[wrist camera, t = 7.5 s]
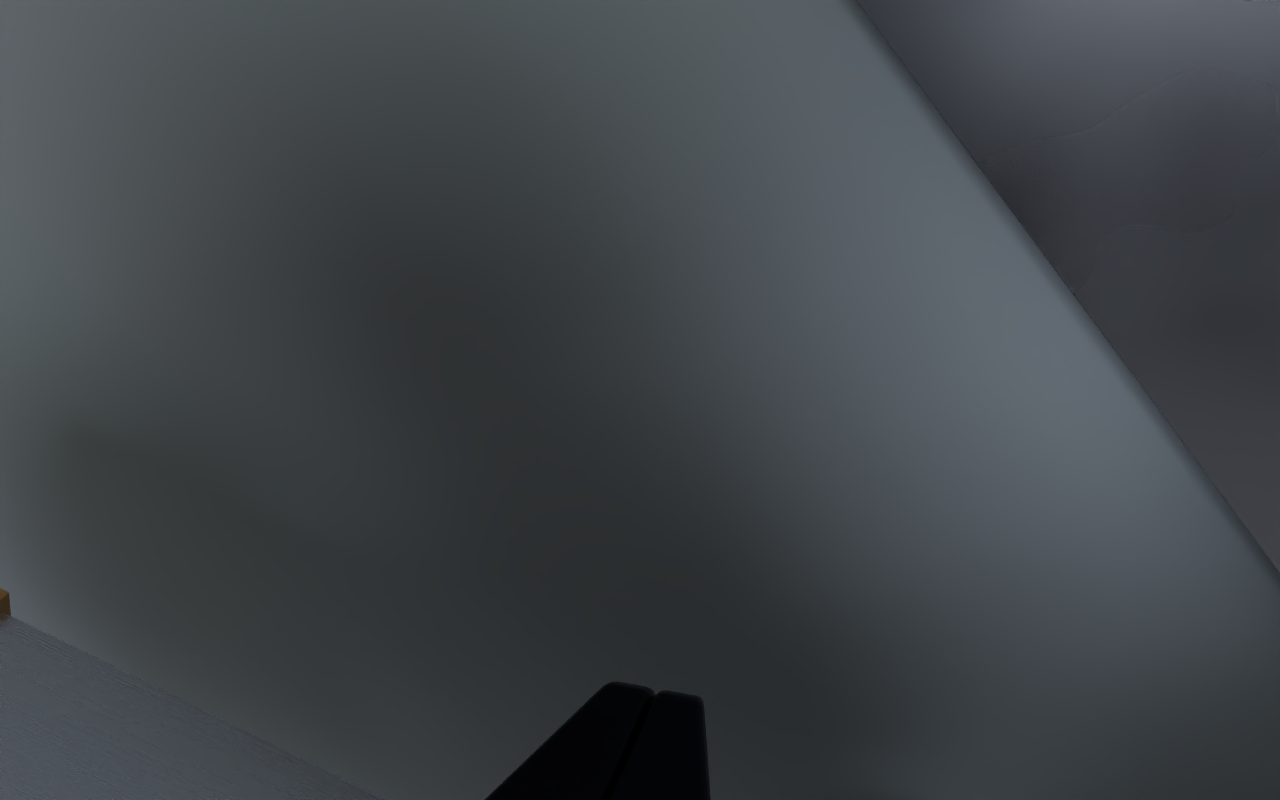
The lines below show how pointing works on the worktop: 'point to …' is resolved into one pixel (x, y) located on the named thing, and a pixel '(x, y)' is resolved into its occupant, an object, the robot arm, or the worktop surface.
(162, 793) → the swing arm
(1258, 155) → the board
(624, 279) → the worktop surface
